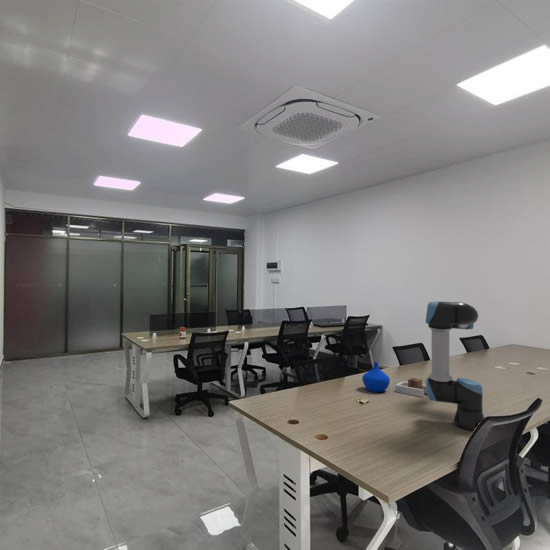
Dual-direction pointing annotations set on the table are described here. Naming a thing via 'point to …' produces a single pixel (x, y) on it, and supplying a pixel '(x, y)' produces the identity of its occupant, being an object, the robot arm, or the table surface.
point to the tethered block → (415, 383)
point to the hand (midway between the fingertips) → (439, 368)
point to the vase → (376, 379)
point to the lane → (410, 389)
